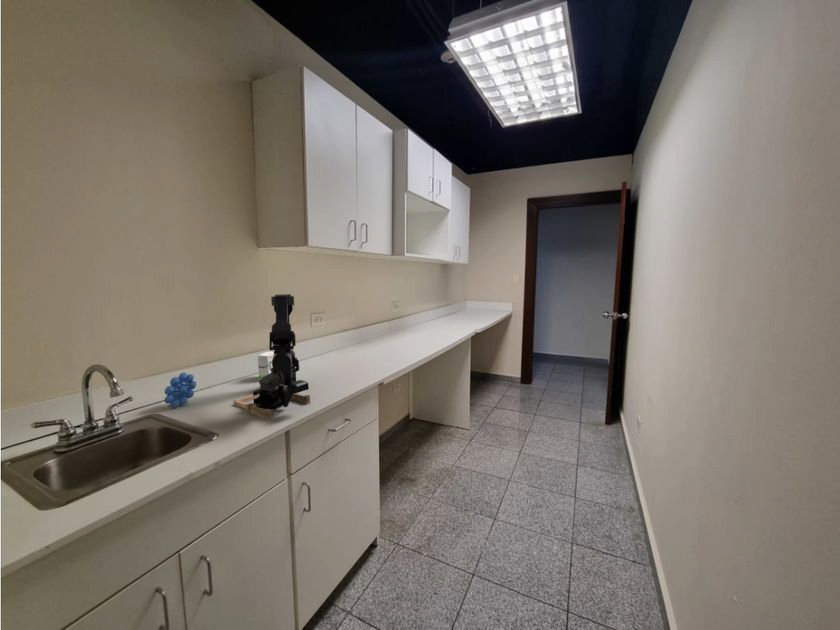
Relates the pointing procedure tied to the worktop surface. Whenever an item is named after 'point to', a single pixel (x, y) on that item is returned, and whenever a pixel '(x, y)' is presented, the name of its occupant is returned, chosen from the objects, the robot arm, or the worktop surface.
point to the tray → (241, 401)
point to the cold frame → (267, 413)
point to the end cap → (267, 399)
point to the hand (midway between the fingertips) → (285, 406)
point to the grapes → (180, 390)
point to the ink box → (265, 364)
